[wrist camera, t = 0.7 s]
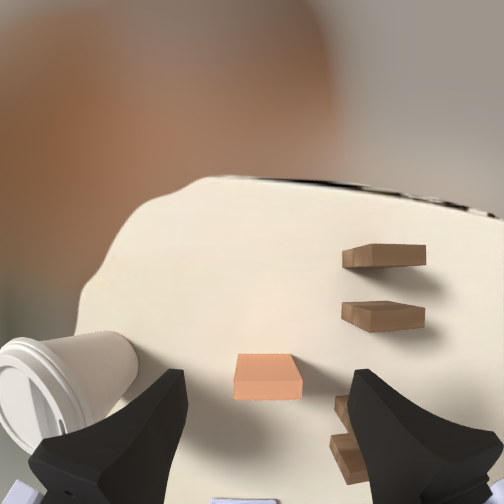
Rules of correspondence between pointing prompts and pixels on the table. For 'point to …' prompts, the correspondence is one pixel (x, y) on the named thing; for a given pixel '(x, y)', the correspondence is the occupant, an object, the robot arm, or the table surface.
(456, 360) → the table surface
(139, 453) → the robot arm
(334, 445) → the domino
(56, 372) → the coffee cup
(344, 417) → the domino
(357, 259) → the domino
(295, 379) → the domino
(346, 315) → the domino
